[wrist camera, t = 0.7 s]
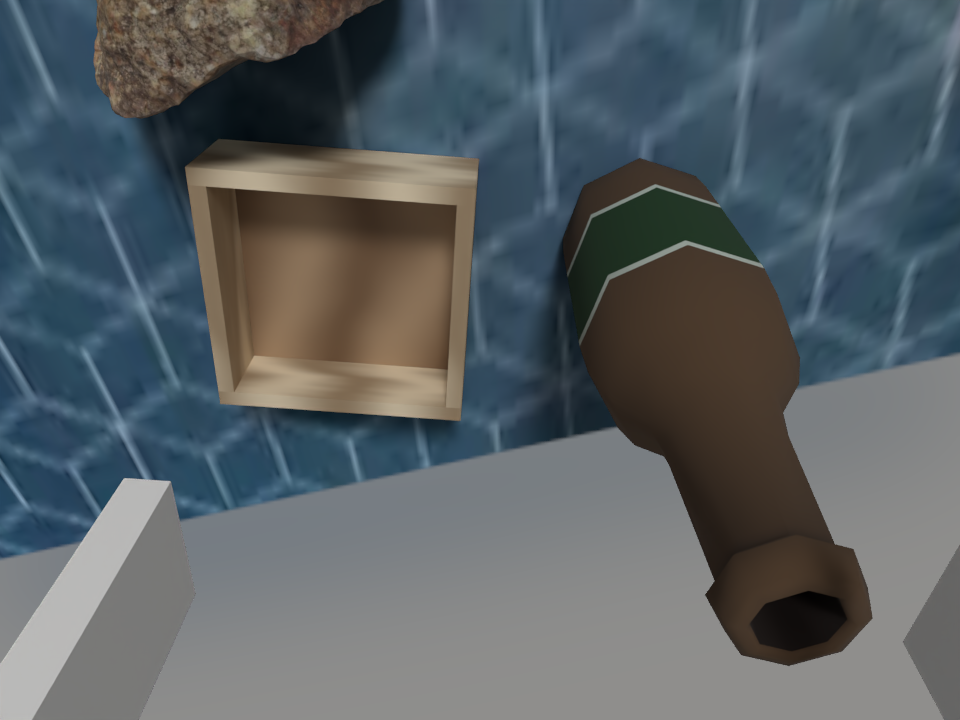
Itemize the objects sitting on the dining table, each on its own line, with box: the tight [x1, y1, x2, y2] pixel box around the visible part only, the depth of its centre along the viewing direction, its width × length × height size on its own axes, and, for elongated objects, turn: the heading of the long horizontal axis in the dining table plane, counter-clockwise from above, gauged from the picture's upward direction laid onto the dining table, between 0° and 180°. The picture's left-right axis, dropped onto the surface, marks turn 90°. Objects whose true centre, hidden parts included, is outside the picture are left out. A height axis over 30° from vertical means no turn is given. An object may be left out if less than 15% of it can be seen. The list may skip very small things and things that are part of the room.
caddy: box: [185, 139, 479, 421], centre depth 37 cm, size 13×13×4 cm
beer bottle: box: [563, 158, 872, 666], centre depth 27 cm, size 8×8×24 cm
